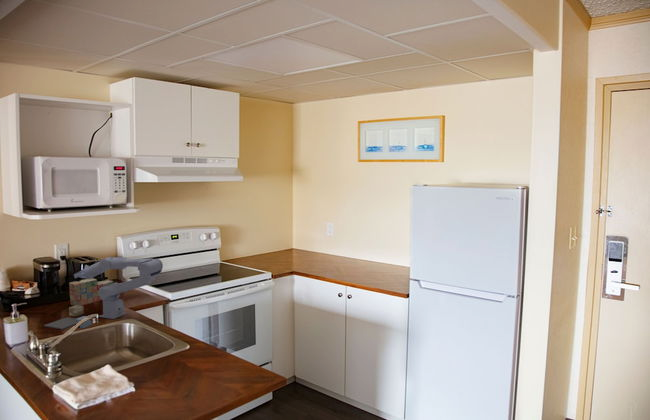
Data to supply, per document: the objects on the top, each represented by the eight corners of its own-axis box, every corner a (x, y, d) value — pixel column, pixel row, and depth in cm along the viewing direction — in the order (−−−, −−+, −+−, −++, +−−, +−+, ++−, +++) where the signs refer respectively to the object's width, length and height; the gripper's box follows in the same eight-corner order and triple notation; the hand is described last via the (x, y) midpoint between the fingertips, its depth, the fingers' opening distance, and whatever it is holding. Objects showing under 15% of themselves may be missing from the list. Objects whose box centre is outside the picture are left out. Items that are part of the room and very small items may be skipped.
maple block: (83, 313, 233) (83, 306, 233) (75, 316, 229) (75, 308, 229) (77, 312, 235) (76, 305, 234) (69, 315, 231) (68, 307, 230)
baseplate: (85, 321, 221) (85, 320, 221) (62, 329, 210) (62, 328, 210) (67, 318, 226) (67, 317, 226) (44, 326, 215) (44, 325, 215)
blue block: (91, 325, 216) (90, 317, 216) (83, 328, 212) (82, 320, 212) (84, 324, 218) (83, 316, 217) (75, 327, 214) (75, 319, 213)
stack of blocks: (108, 295, 265) (107, 274, 264) (114, 297, 262) (113, 276, 260) (70, 304, 248) (68, 282, 247) (75, 307, 245) (74, 284, 243)
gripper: (104, 260, 237) (85, 269, 241) (80, 264, 223) (61, 273, 228) (108, 273, 236) (89, 282, 241) (85, 277, 223) (65, 287, 227)
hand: (76, 279), depth 234 cm, fingers open, 7 cm apart
